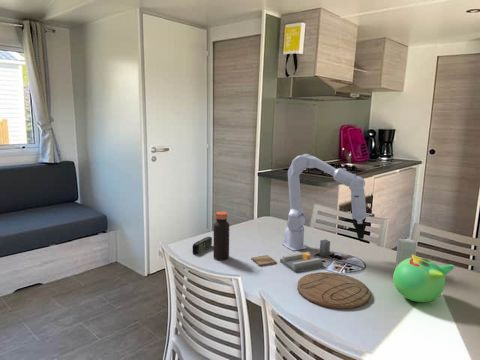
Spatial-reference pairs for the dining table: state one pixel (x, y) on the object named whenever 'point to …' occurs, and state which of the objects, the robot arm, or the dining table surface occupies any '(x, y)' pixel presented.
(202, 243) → the mobile phone
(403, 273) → the toy bird
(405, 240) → the skincare box
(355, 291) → the trivet
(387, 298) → the dining table surface
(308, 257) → the breaker switch
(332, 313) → the dining table surface
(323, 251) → the brushed metal block
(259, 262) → the cork coaster
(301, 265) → the box
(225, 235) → the bottle
